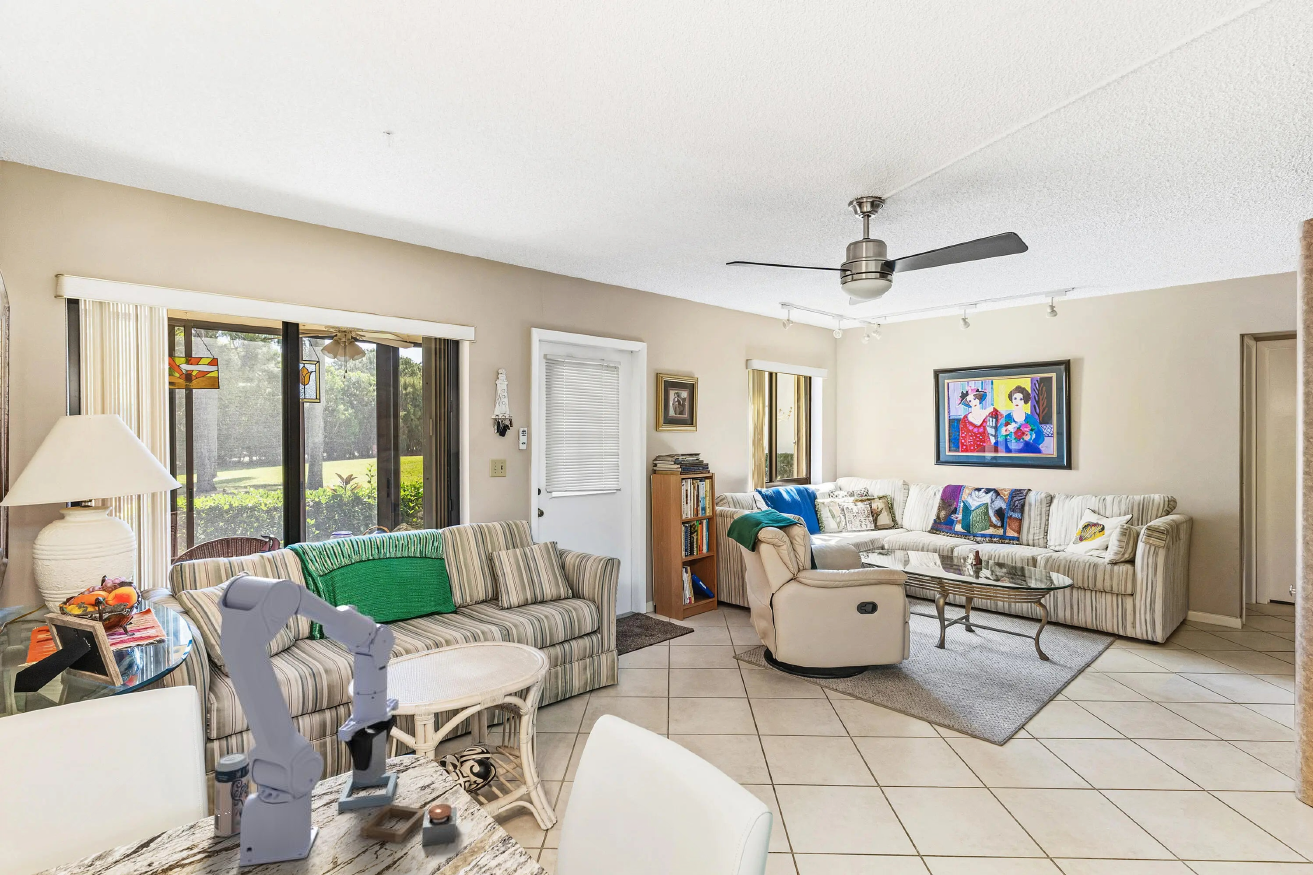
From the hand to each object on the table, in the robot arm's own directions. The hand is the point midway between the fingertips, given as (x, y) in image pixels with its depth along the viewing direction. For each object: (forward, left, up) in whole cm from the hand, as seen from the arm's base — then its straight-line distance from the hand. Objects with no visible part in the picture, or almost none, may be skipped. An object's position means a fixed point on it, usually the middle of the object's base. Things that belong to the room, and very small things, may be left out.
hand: (369, 763), depth 122 cm
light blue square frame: (0, 0, -6) cm, 6 cm away
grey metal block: (0, 0, -2) cm, 2 cm away
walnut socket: (+6, -12, -6) cm, 15 cm away
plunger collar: (+13, -16, -6) cm, 22 cm away
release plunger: (+14, -16, -5) cm, 22 cm away
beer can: (-20, -7, -6) cm, 22 cm away
